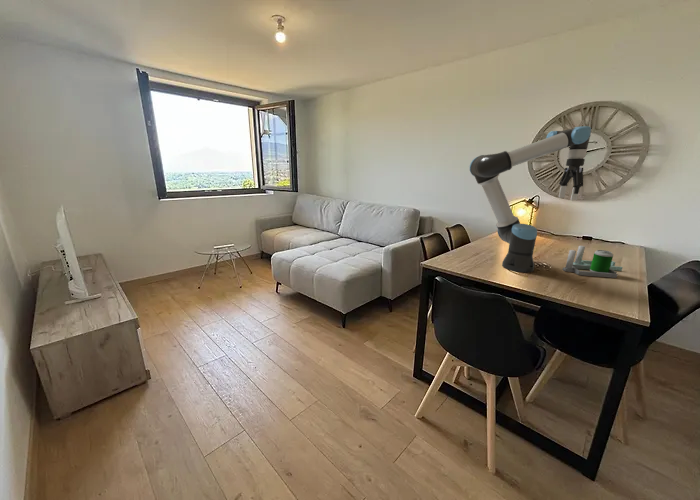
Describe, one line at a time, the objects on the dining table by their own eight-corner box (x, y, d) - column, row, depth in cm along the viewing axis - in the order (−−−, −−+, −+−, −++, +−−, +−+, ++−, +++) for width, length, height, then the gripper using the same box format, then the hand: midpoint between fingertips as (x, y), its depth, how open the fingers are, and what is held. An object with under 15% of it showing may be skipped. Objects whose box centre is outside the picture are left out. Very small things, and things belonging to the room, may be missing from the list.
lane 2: (577, 267, 159) (582, 248, 156) (569, 262, 168) (573, 244, 165) (621, 270, 155) (627, 250, 152) (610, 265, 164) (616, 246, 161)
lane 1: (569, 274, 149) (574, 253, 146) (558, 266, 160) (562, 247, 157) (616, 277, 145) (622, 256, 142) (601, 270, 156) (607, 250, 153)
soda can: (611, 276, 147) (617, 254, 144) (594, 275, 148) (600, 253, 145) (602, 271, 154) (607, 250, 151) (586, 270, 156) (591, 249, 152)
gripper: (598, 157, 140) (587, 201, 146) (572, 159, 163) (564, 196, 169) (580, 157, 141) (570, 201, 147) (557, 158, 165) (549, 196, 170)
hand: (567, 198), depth 158 cm, fingers open, 13 cm apart
